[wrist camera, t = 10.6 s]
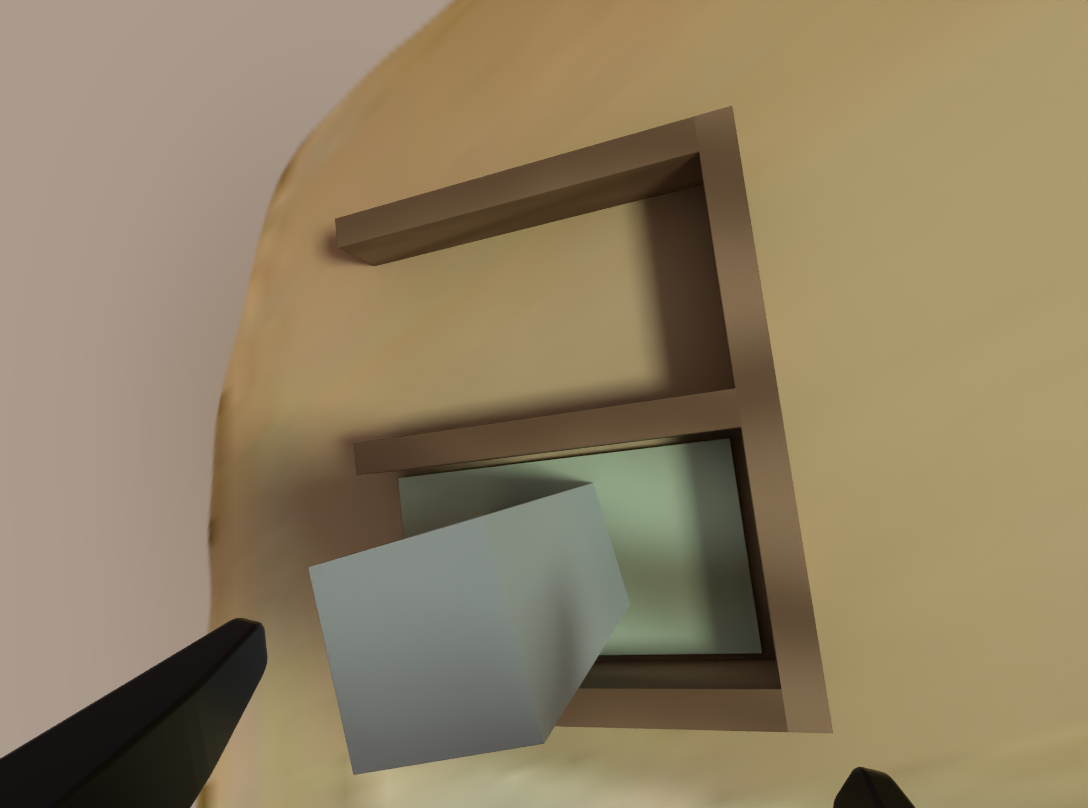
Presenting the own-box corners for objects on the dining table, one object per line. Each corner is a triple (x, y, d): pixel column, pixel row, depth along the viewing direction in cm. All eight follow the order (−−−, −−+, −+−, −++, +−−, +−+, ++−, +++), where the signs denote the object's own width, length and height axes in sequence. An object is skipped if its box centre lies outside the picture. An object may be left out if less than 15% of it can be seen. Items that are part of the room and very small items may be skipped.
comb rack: (820, 696, 19) (832, 733, 16) (413, 693, 23) (377, 721, 21) (732, 144, 21) (732, 105, 18) (372, 239, 25) (335, 218, 23)
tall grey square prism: (630, 604, 21) (544, 743, 11) (517, 630, 22) (353, 774, 12) (593, 482, 21) (482, 515, 12) (486, 514, 23) (308, 567, 13)
